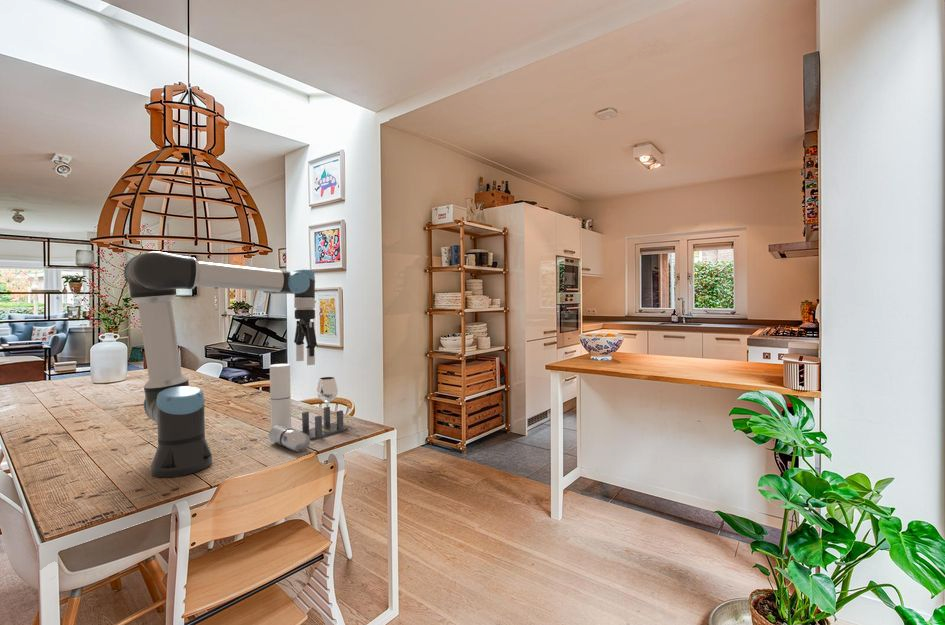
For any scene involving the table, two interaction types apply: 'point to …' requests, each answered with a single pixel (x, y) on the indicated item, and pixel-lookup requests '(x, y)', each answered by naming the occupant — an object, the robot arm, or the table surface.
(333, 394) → the wineglass
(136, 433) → the table surface
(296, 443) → the tube
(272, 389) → the cylindrical container
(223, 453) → the table surface
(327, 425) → the rail
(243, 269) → the robot arm
